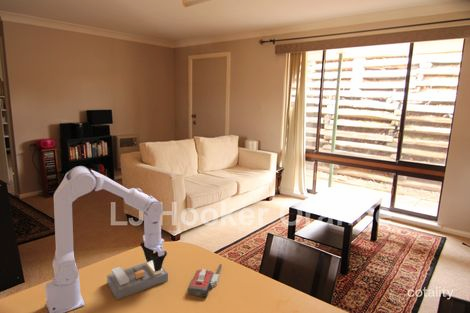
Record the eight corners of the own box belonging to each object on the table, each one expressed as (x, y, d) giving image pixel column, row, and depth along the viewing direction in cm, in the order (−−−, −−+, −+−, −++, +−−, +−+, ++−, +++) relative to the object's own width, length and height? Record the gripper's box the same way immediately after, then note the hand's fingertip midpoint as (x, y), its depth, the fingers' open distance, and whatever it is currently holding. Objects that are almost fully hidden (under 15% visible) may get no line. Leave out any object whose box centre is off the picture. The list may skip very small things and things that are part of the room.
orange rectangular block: (136, 279, 106) (136, 274, 106) (134, 276, 107) (134, 272, 107) (144, 276, 108) (144, 271, 108) (143, 274, 109) (143, 269, 109)
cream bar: (154, 275, 109) (154, 272, 108) (145, 263, 116) (144, 260, 115) (162, 272, 110) (162, 269, 110) (152, 261, 117) (152, 258, 117)
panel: (117, 299, 100) (116, 291, 100) (107, 282, 109) (106, 275, 108) (167, 280, 111) (167, 273, 111) (155, 266, 120) (155, 259, 119)
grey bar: (120, 285, 101) (120, 281, 101) (111, 272, 108) (111, 269, 108) (129, 282, 103) (129, 278, 103) (120, 269, 110) (120, 266, 110)
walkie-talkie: (211, 301, 102) (223, 268, 121) (212, 289, 101) (223, 257, 120) (186, 297, 103) (201, 265, 122) (186, 286, 102) (201, 255, 121)
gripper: (172, 235, 107) (172, 271, 110) (155, 221, 118) (155, 253, 121) (152, 241, 102) (153, 277, 105) (136, 225, 114) (138, 259, 116)
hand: (153, 265), depth 113 cm, fingers open, 7 cm apart
